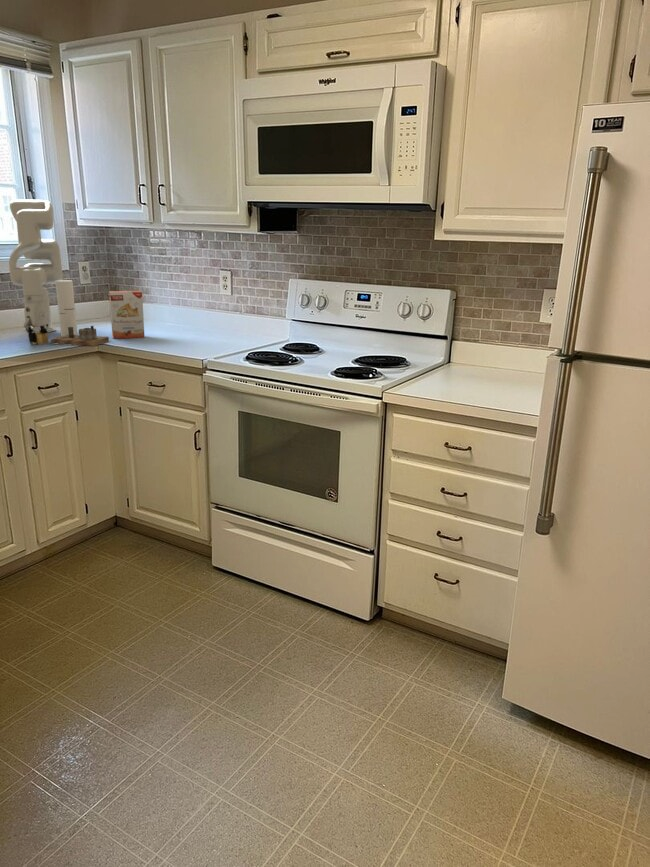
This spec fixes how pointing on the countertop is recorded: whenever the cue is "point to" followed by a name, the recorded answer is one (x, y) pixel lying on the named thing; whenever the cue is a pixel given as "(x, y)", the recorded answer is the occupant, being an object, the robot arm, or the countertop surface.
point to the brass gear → (41, 338)
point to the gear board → (79, 341)
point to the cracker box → (127, 314)
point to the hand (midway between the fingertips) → (38, 340)
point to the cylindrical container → (66, 306)
